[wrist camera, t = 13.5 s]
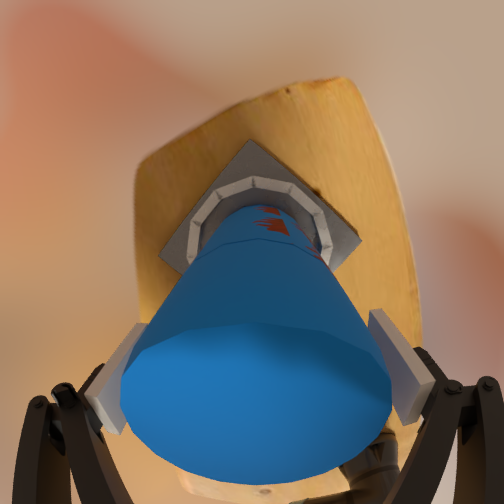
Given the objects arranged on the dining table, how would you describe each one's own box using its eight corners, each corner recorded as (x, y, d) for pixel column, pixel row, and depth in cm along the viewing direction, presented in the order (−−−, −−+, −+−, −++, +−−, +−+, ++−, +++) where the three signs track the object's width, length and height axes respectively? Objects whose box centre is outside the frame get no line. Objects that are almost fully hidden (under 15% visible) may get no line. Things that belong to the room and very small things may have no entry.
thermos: (243, 304, 34) (218, 494, 10) (196, 232, 32) (67, 376, 8) (320, 264, 32) (412, 437, 9) (277, 185, 30) (343, 240, 6)
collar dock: (359, 238, 32) (366, 243, 30) (266, 334, 37) (266, 344, 34) (250, 140, 30) (249, 137, 27) (160, 253, 34) (153, 259, 31)
